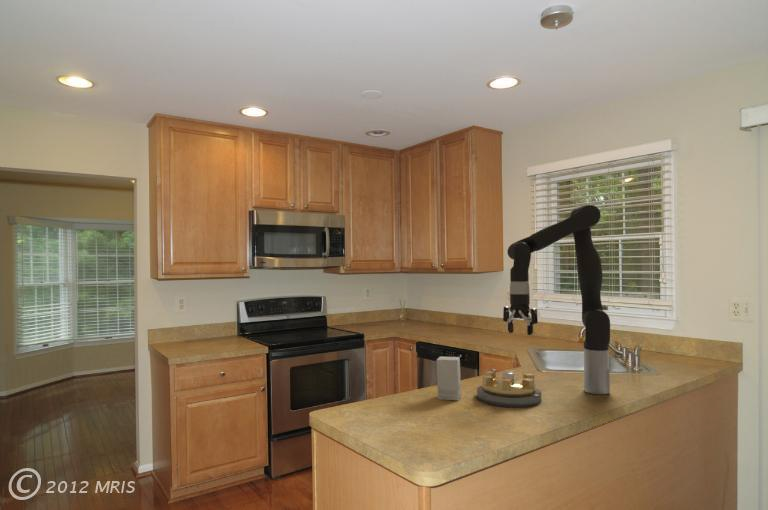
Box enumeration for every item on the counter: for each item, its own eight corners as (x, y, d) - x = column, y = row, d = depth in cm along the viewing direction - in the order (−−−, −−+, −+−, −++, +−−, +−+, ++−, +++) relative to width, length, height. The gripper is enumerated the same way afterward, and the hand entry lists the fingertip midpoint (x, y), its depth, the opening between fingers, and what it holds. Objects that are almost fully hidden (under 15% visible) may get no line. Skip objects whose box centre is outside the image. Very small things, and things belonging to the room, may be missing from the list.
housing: (541, 392, 200) (541, 384, 200) (541, 410, 177) (541, 401, 177) (480, 388, 207) (480, 380, 207) (473, 404, 184) (472, 395, 184)
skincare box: (461, 396, 195) (461, 356, 195) (458, 401, 188) (457, 360, 189) (440, 395, 197) (439, 355, 198) (436, 399, 191) (436, 358, 191)
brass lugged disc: (536, 385, 198) (536, 369, 198) (535, 399, 179) (535, 380, 179) (485, 382, 204) (485, 366, 205) (479, 394, 185) (479, 377, 185)
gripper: (540, 293, 195) (541, 334, 195) (509, 291, 206) (510, 331, 206) (530, 294, 190) (530, 336, 190) (499, 292, 201) (499, 332, 201)
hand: (520, 333), depth 198 cm, fingers open, 8 cm apart
